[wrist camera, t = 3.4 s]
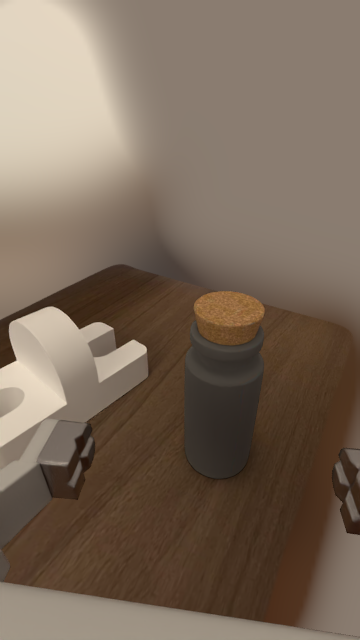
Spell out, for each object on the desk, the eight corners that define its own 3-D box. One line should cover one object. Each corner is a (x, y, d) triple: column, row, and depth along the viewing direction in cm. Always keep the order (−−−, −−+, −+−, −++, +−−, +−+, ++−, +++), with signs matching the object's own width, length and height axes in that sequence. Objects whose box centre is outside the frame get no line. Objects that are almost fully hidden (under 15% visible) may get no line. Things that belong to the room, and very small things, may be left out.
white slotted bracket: (152, 373, 38) (147, 297, 33) (-2, 484, 27) (-48, 394, 21) (102, 342, 43) (91, 273, 38) (-44, 423, 32) (-90, 340, 26)
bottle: (220, 414, 33) (231, 280, 25) (262, 456, 29) (293, 311, 21) (172, 442, 30) (168, 300, 22) (211, 493, 26) (224, 341, 18)
